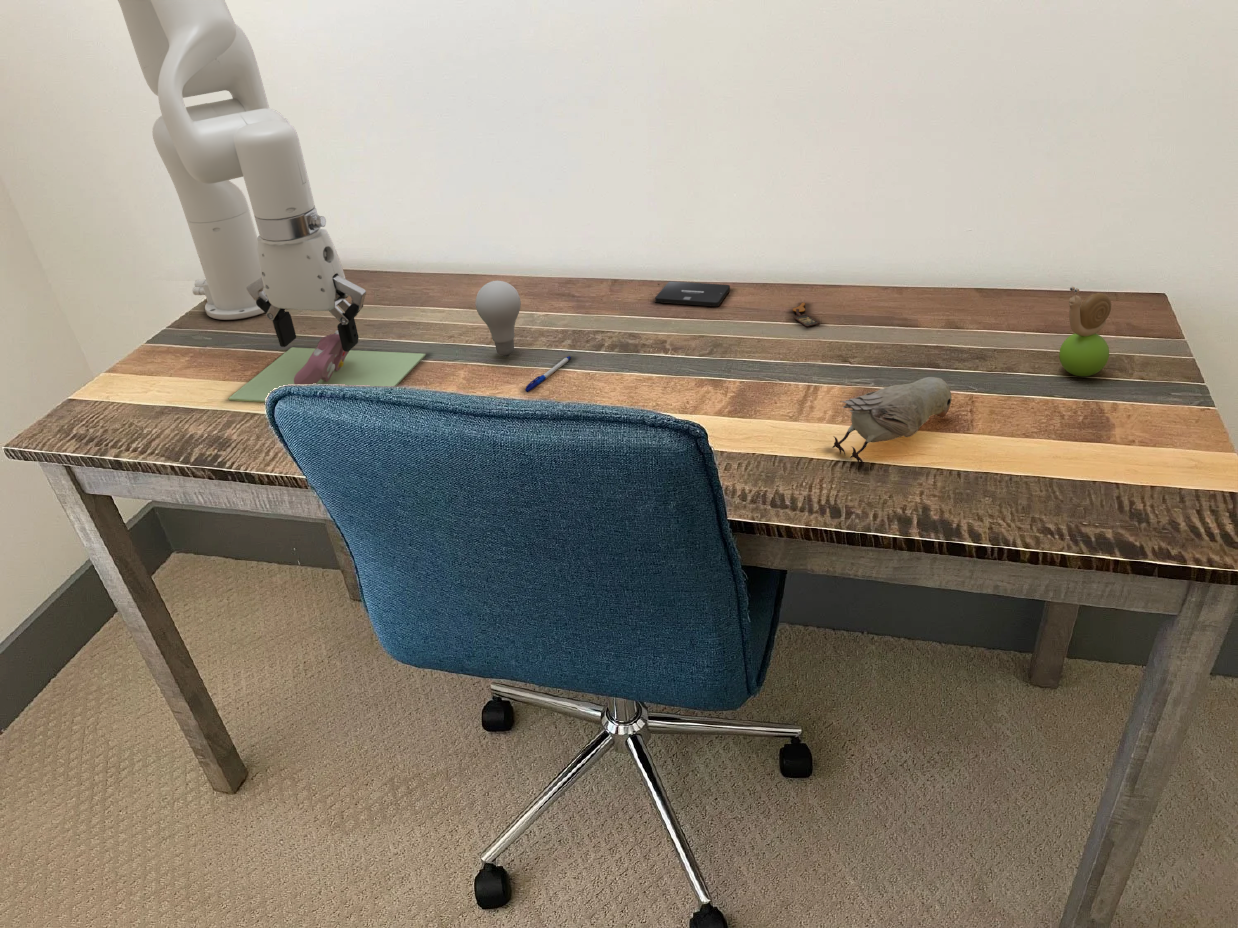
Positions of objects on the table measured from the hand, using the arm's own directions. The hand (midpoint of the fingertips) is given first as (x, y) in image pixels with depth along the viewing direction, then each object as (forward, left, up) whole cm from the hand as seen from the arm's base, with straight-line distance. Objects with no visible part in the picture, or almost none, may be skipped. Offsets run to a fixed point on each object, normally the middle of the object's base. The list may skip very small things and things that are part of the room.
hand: (319, 344), depth 132 cm
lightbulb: (+24, +9, -5) cm, 26 cm away
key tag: (+64, +26, -5) cm, 69 cm away
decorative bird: (+77, -8, -5) cm, 77 cm away
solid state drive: (+46, +32, -5) cm, 56 cm away
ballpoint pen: (+32, +4, -5) cm, 32 cm away
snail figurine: (+98, +11, -5) cm, 98 cm away
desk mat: (+1, 0, -5) cm, 5 cm away
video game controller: (+1, 0, -5) cm, 5 cm away
